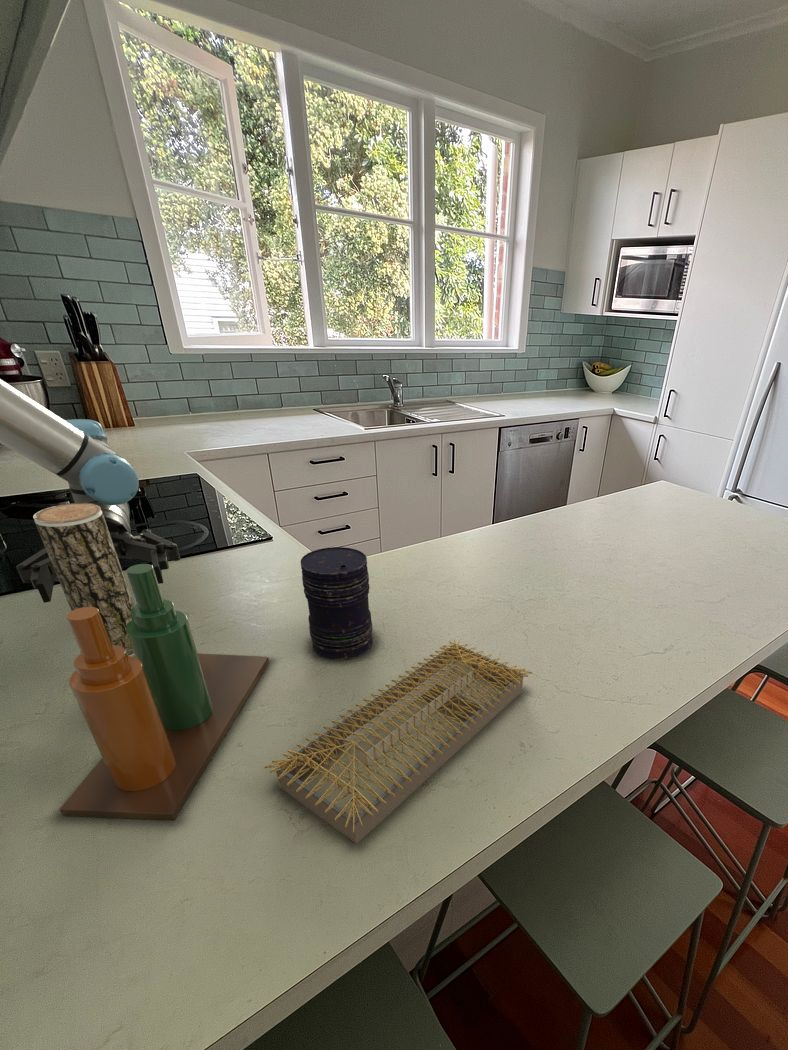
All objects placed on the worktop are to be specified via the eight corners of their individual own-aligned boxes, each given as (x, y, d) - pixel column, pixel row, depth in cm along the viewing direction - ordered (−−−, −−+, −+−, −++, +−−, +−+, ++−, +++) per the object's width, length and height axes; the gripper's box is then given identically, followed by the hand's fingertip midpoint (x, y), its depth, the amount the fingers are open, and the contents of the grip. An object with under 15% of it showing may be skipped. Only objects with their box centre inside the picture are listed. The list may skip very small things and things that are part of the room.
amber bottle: (101, 790, 60) (24, 629, 49) (133, 749, 65) (70, 595, 54) (159, 792, 60) (95, 632, 49) (186, 751, 66) (134, 598, 54)
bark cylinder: (165, 679, 79) (109, 513, 65) (113, 700, 74) (42, 527, 61) (145, 660, 82) (89, 499, 69) (95, 679, 78) (25, 511, 65)
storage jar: (301, 639, 89) (288, 555, 81) (354, 622, 95) (347, 542, 87) (329, 668, 83) (318, 580, 75) (384, 647, 88) (380, 563, 80)
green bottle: (148, 729, 68) (92, 579, 57) (173, 697, 74) (126, 555, 63) (199, 731, 69) (153, 582, 57) (220, 699, 74) (182, 558, 63)
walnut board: (62, 815, 58) (58, 809, 58) (191, 658, 83) (189, 652, 83) (174, 820, 58) (172, 814, 58) (269, 661, 84) (268, 656, 83)
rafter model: (453, 656, 87) (454, 623, 84) (530, 691, 80) (534, 657, 77) (268, 788, 63) (259, 749, 59) (356, 854, 56) (351, 814, 53)
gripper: (191, 541, 98) (206, 590, 83) (21, 564, 87) (2, 626, 72) (181, 501, 94) (195, 544, 79) (1, 520, 83) (-24, 575, 68)
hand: (102, 584), depth 75 cm, fingers open, 13 cm apart
